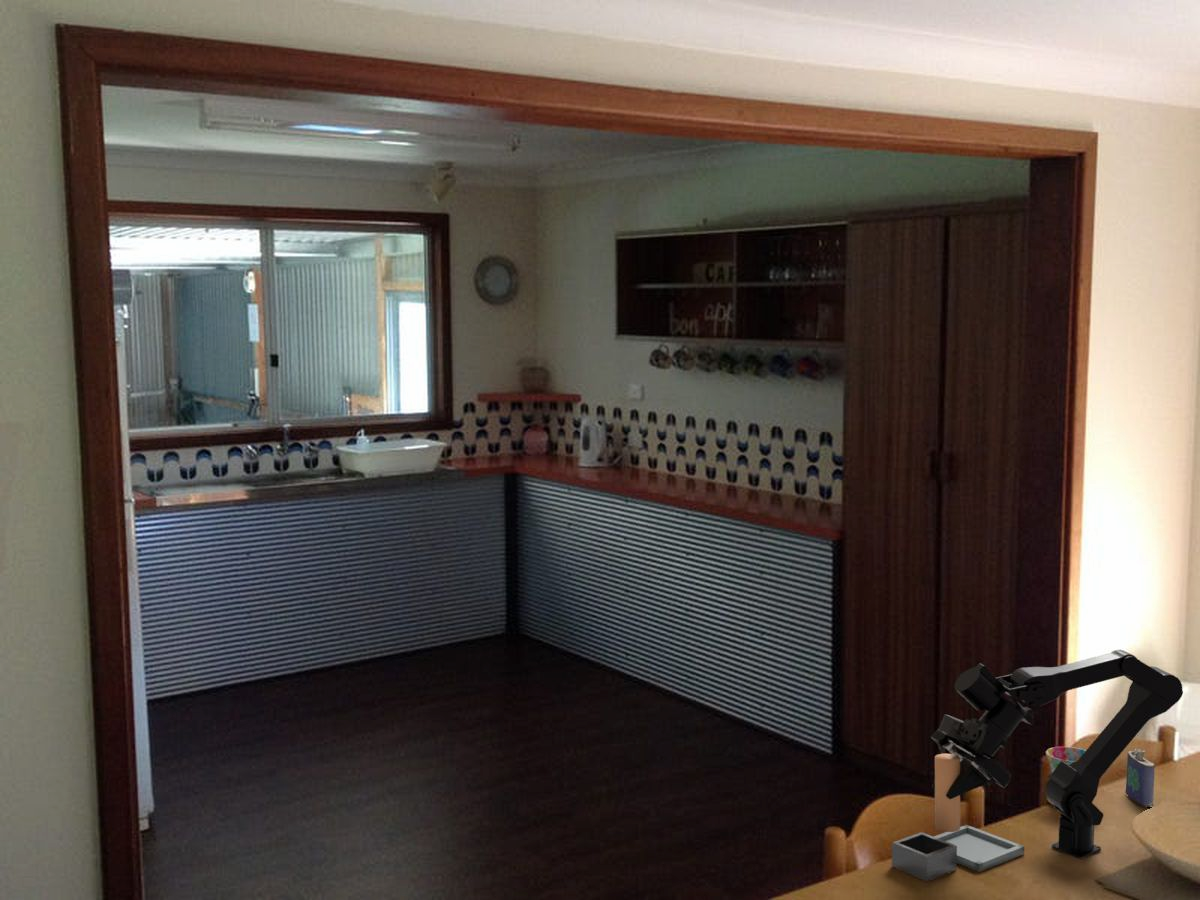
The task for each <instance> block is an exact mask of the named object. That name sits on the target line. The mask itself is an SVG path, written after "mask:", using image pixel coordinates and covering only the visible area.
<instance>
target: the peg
mask: <svg viewBox="0 0 1200 900" xmlns="http://www.w3.org/2000/svg"><path fill="white" fill-rule="evenodd" d="M959 774H960V757H959V756H957V755H953V754H941V753H939V754H936V755H935V756H934V779H935V789H934V827H935V829H936V830H938V831H941V832H943V833H945V832H955V831H958V830H960V827H961V795H959V796H957V797H955V798H952V799H948V798H947V797H946V794H947V792H948V790H949V788H950V787H951V786H952V784H953V783H954V781H955V780H956V778H957V777H958V776H959Z"/></svg>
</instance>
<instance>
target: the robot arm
mask: <svg viewBox="0 0 1200 900" xmlns="http://www.w3.org/2000/svg"><path fill="white" fill-rule="evenodd" d="M1120 677H1125V678H1127V679H1128V680H1130V681H1131V683H1130V685H1129V688H1128V689H1129V690H1128V693H1127V697H1126V698H1127V699H1126V701H1125V703H1124V704H1123V706H1122V707H1121V708H1120V709H1119V711H1118V712H1117V713H1115V715H1114V717H1112V718H1111V720H1110V721H1109V723H1108V724H1107V725H1106V726H1105V727H1104V729H1103V730H1102V731H1101V732H1100V734H1098V735H1097V737H1096V738H1095V739H1094V740H1093V741H1092V743H1091V744H1090V745H1089V746H1088V748H1087V749H1085V750H1086V751H1085V753H1084V754H1083V755H1082V756H1081V757H1080V758H1079V760H1077V761H1076V762H1074V763H1072V764H1070V765H1067V764H1066V763H1065V762H1063V761H1061V762H1060V763H1059V764H1058V766H1057V767H1056V769H1055V770H1054V772H1051V773H1050V774H1048V775H1046V776H1047V778H1048V779H1047V782H1045V786H1044V788H1045V795H1046V799H1047V798H1048V799H1049V800H1050V801H1051V802H1052V803H1053V804H1052V805H1053V808H1054V810H1055V811H1058V813H1060V817H1059V826H1058V841H1057V842H1055V843H1053V844H1051V848H1052V849H1055V850H1057V851H1060V852H1062V853H1065V854H1068V855H1070V856H1073V857H1077V858H1079V859H1083V858H1085V857H1086V858H1087V857H1088V856H1091V855H1093V854H1096V853H1098V852H1100V851H1101V850H1102V847H1100V846H1099V845H1096V844H1094V843H1095V826H1100V825H1101V824H1102V822H1103V818H1104V813H1103V812H1102V811H1101V810H1100V809H1099V808H1098V807H1097V805H1095V804H1094V803H1093V802H1094V800H1095V798H1096V797H1097V794H1098V790H1099V786H1100V785H1099V784H1100V780H1101V779H1102V777H1103V776H1104V774H1105V773H1106V772H1107V771H1108V770H1109V768H1110V767H1111V766H1112V765H1113V763H1114V762H1115V761H1116V760H1117V759H1118V758H1119V756H1121V754H1122V753H1123V751H1125V749H1127V747H1128V746H1129V745H1130V743H1131V742H1133V740H1134V738H1135V737H1136V736H1138V734H1139V733H1140V732H1141V731H1142V729H1143V728H1144V727H1145V725H1146V724H1147V723H1148V722H1149V721H1150V720H1151V719H1153V718H1155V717H1158V716H1160V715H1162V714H1165V713H1167V712H1168V711H1169V710H1170V709H1171V708H1172V707H1173V706H1175V705H1176V704H1177V703H1178V702H1179V701H1180V700H1181V698H1182V697H1183V693H1184V692H1183V684H1182V682H1181V680H1180V679H1179V678H1178V677H1177V676H1175V675H1174V674H1171V673H1169V672H1167V671H1165V670H1164V669H1161V668H1159V667H1156V666H1152V665H1151V666H1150V665H1148V664H1146V663H1145V662H1143V661H1142V660H1140V659H1138V657H1137V656H1135V655H1134V654H1132V653H1129V652H1127V651H1125V650H1123V649H1116V650H1112V651H1111V652H1108V653H1105V654H1101V655H1097V656H1093V657H1089V658H1085V659H1082V660H1079V661H1074V662H1071V663H1066V664H1062V665H1059V666H1053V667H1046V666H1031V667H1030V666H1028V667H1020V668H1018V669H1015V670H1014V671H1012V673H1010V674H1007V675H1001V676H997V677H996V676H995V675H993V674H992V672H991V671H990V669H989V668H988V667H986V665H984V664H982V663H978V664H977V665H976V666H974V667H971V668H969V669H967V670H966V671H964V672H962V673H961V674H959V676H958V677H957V678H956V680H955V682H954V683H955V684H954V691H956V692H957V693H958V694H959V695H960V696H961V697H962V698H964V699H965V700H966V702H968V703H969V704H970V705H971V706H972V707H973V708H974V709H975V710H976V711H979V712H981V711H985V712H984V713H983V714H982V716H980V718H979V719H978V718H975V717H973V718H971V719H967V718H966V719H965V720H961V719H959V718H956V717H955V716H951V715H948V714H944V715H943V718H942V720H941V722H940V725H939V727H938V729H936V730H935V731H934V733H933V734H932V735H930V738H931V739H932V740H933V741H934V742H935V743H936V745H938V749H939V750H940V754H953V755H957V756H959V757H960V774H959V776H958V777H957V778H956V780H955V781H954V783H953V784H952V786H951V787H950V788H949V790H948V792H947V794H946V797H947V798H948V799H952V798H955V797H957V796H959V795H960V796H961V795H964V794H966V793H967V792H970V791H973V790H975V789H978V788H981V787H983V786H986V785H988V786H991V785H992V782H991V781H990V780H991V779H994V780H993V782H994V783H995V784H996V785H998V786H1000V787H1001V788H1003V789H1005V788H1006V787H1007V786H1008V784H1009V783H1011V780H1012V779H1011V778H1012V774H1011V772H1010V771H1009V770H1008V769H1007V768H1006V767H1005V766H1004V765H1003V764H1002V763H1001V762H999V760H998V759H996V757H994V756H995V754H996V753H997V751H998V750H999V749H1000V748H1002V749H1004V750H1005V749H1006V748H1008V746H1009V743H1007V741H1006V740H1007V739H1008V737H1010V736H1011V734H1012V733H1013V732H1014V730H1016V728H1017V727H1018V726H1019V724H1020V723H1021V722H1024V723H1026V724H1029V725H1030V726H1033V725H1034V724H1035V719H1034V715H1033V713H1034V710H1033V709H1032V708H1037V707H1043V706H1044V705H1046V704H1049V703H1051V702H1053V701H1055V700H1057V699H1058V698H1059V697H1060V696H1062V694H1065V693H1066V692H1068V691H1071V690H1076V689H1079V688H1083V687H1086V686H1090V685H1093V684H1094V685H1095V684H1098V683H1102V682H1106V681H1109V680H1113V679H1117V678H1120ZM1004 694H1006V695H1008V696H1009V697H1011V698H1008V697H1006V696H1005V695H1004ZM1018 701H1022V702H1023V703H1025V704H1026V705H1028V706H1030V707H1031V708H1030V707H1027V706H1024V707H1023V705H1022V704H1021V703H1020V702H1018ZM931 787H932V789H933V790H935V778H934V779H933V783H932V785H931Z"/></svg>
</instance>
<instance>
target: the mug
mask: <svg viewBox="0 0 1200 900" xmlns="http://www.w3.org/2000/svg"><path fill="white" fill-rule="evenodd" d="M1086 750H1087V749H1083V748H1079V747H1073V746H1054V747H1050V748H1048V749H1046V751H1045V754H1046V757H1047V760H1048V763H1049V766H1050V770H1051V773H1052V772H1054V770H1055V769H1056V767H1057V766H1058V764H1059V763H1060V762H1061V761H1063V762H1065V763H1066V764H1067V765H1070V764H1072V763H1074V762H1076V761H1077V760H1079V758H1080V757H1081V756H1082V755H1083V754H1084V753H1085V751H1086ZM1046 799H1047V801H1048V803H1050V804H1051V805H1053V803H1052V802H1051V801H1050V800H1049V799H1048V798H1047V797H1046Z"/></svg>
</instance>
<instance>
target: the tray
mask: <svg viewBox="0 0 1200 900" xmlns="http://www.w3.org/2000/svg"><path fill="white" fill-rule="evenodd" d="M933 837H936V838H938V839H941V840H943V841H946V842H948V843H951V844H953V845H956V846H957V864H958V863H959V864H958V865H960V864H961V865H960V866H963V865H964V866H963V867H965V866H966V867H965V868H967V867H968V868H967V869H970V868H971V869H970V870H972V869H974V870H973V871H975V870H976V871H975V872H977V871H978V873H981V872H983V871H982V870H984V871H986V870H989V869H991V868H994V867H996V866H998V865H1001V864H1003V863H1006V862H1008V861H1011V860H1014V859H1015V858H1019V857H1021V856H1023V855H1025V846H1024V845H1021V844H1018V843H1017V842H1015V841H1014V842H1013V841H1011V840H1008V839H1006V838H1004V837H1000V836H998V835H995V834H992V833H990V832H987V831H984V830H981V829H980V828H977V827H974V826H971V825H968V824H964V825H961V826H960V830H958V831H955V832H943V833H939V834H937V835H935V836H933ZM993 866H994V867H993ZM988 868H989V869H988ZM985 869H986V870H985ZM980 871H981V872H980Z"/></svg>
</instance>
